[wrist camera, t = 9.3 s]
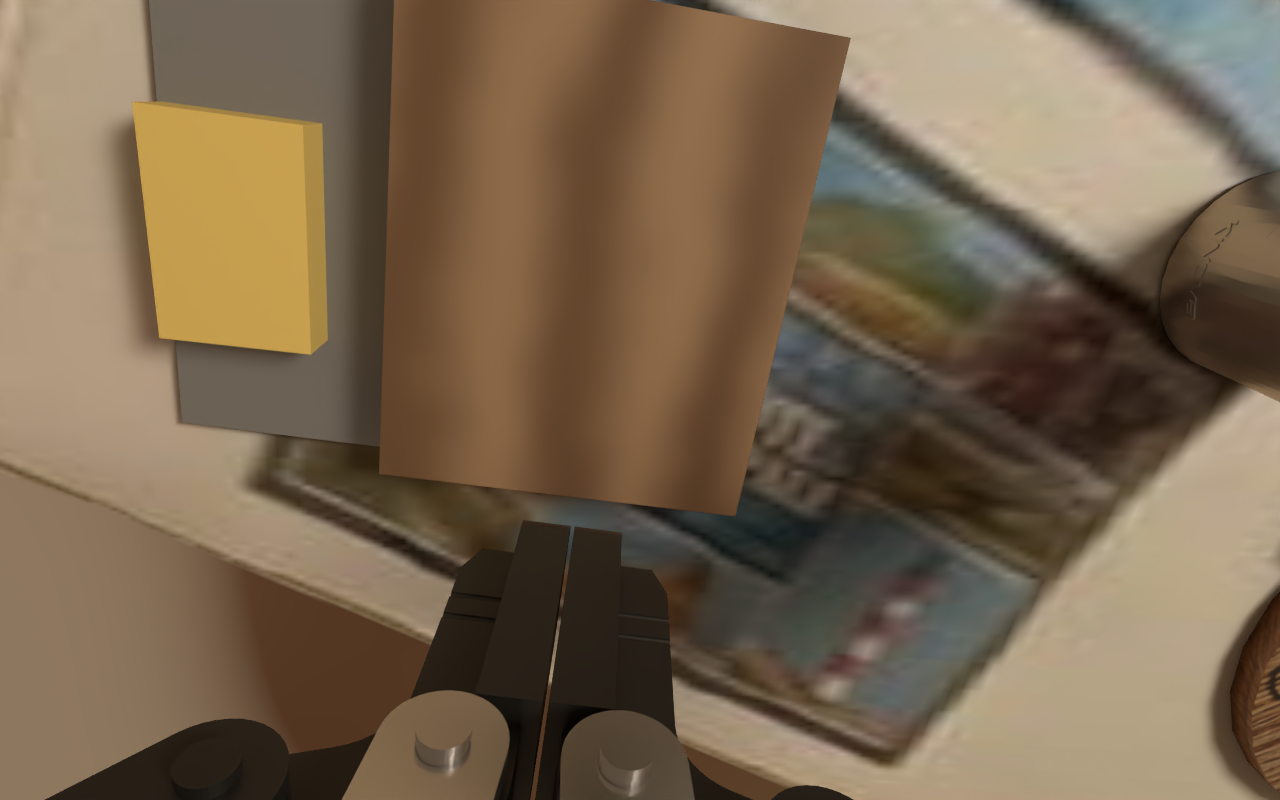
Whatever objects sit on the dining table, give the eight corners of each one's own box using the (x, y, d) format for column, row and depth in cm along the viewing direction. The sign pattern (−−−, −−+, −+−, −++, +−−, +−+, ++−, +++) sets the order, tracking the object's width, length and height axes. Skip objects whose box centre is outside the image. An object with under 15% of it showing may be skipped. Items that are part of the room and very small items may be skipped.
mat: (408, -35, 28) (405, -37, 27) (390, 443, 35) (387, 447, 34) (149, -83, 27) (142, -86, 26) (187, 418, 34) (181, 422, 34)
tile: (132, 101, 27) (162, 101, 29) (159, 338, 30) (185, 323, 32) (302, 125, 27) (322, 123, 29) (310, 354, 31) (327, 339, 32)
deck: (827, 43, 29) (850, 37, 26) (725, 484, 37) (735, 516, 34) (417, -34, 28) (395, -48, 25) (397, 444, 35) (378, 473, 32)
